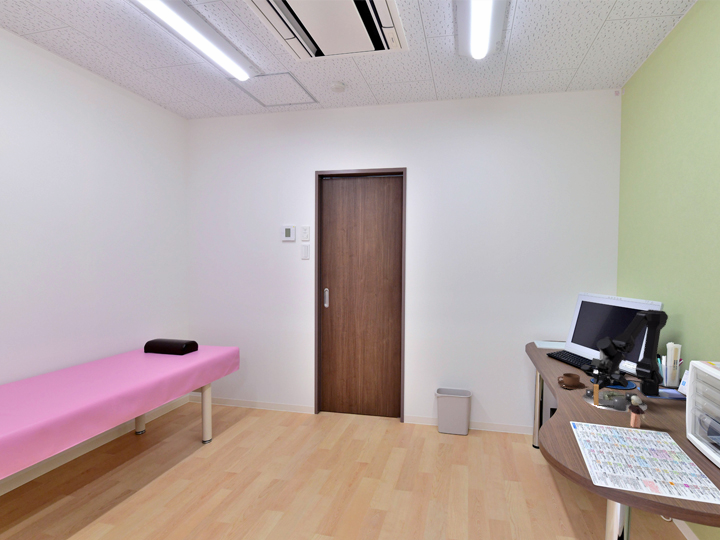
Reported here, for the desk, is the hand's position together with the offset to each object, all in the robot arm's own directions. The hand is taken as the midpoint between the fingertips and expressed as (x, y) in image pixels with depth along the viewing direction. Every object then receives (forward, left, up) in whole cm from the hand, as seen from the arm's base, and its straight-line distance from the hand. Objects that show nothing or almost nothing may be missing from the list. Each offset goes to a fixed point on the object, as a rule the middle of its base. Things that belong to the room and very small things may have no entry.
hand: (594, 391), depth 173 cm
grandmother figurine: (-10, +21, -7) cm, 24 cm away
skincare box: (-18, -51, -7) cm, 55 cm away
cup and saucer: (+5, -24, -7) cm, 26 cm away
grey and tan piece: (-5, +3, -5) cm, 8 cm away
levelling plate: (-9, -5, -7) cm, 12 cm away
